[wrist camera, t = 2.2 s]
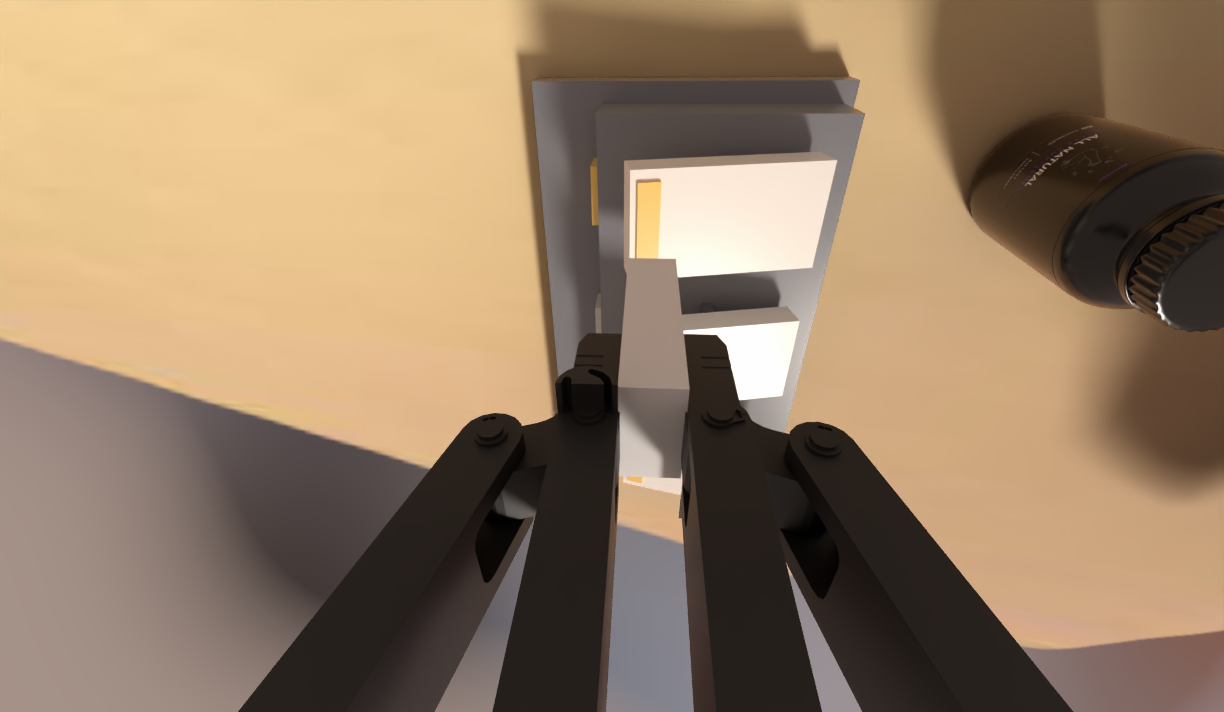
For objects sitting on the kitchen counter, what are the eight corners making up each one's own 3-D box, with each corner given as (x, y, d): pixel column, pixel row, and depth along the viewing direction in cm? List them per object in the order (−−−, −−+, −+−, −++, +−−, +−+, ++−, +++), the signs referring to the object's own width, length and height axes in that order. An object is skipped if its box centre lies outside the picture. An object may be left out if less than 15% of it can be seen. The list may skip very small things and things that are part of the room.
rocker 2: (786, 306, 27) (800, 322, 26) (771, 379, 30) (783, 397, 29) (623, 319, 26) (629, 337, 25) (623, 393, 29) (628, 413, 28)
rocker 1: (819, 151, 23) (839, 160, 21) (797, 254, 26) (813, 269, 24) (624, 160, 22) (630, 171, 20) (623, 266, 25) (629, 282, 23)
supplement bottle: (1004, 102, 26) (1224, 162, 16) (1138, 118, 26) (1442, 187, 16) (941, 231, 29) (1084, 343, 20) (1056, 245, 29) (1258, 364, 20)
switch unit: (850, 76, 25) (892, 91, 21) (766, 447, 40) (780, 502, 36) (537, 78, 26) (512, 92, 22) (567, 438, 41) (556, 491, 37)
